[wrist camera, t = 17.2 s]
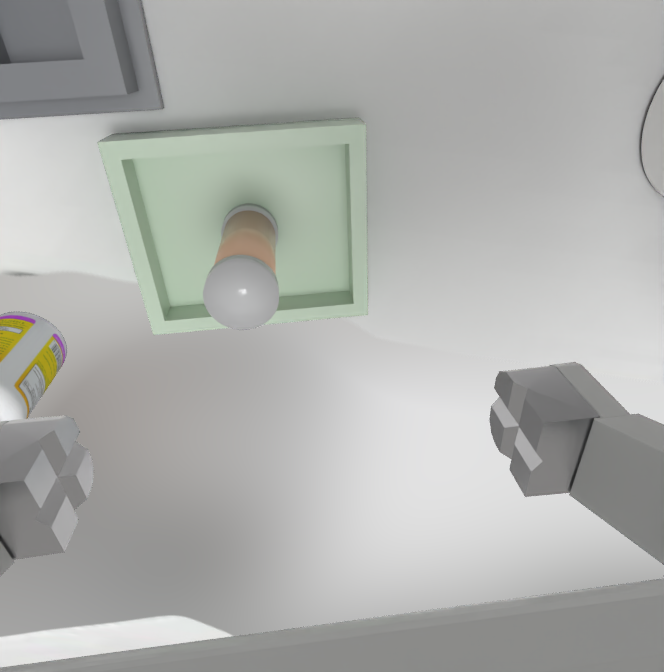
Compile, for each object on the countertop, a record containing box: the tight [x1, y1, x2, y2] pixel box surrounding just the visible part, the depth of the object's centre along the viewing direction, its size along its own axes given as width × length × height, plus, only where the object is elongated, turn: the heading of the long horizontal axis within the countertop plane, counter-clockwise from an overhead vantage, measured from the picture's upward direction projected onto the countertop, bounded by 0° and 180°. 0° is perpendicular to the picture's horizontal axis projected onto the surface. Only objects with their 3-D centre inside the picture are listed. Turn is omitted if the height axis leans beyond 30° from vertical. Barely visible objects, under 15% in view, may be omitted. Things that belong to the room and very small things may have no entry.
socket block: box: [0, 0, 164, 119], centre depth 28 cm, size 12×12×4 cm
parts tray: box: [97, 118, 368, 335], centre depth 37 cm, size 18×15×4 cm
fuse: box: [203, 203, 279, 330], centre depth 33 cm, size 4×4×12 cm
